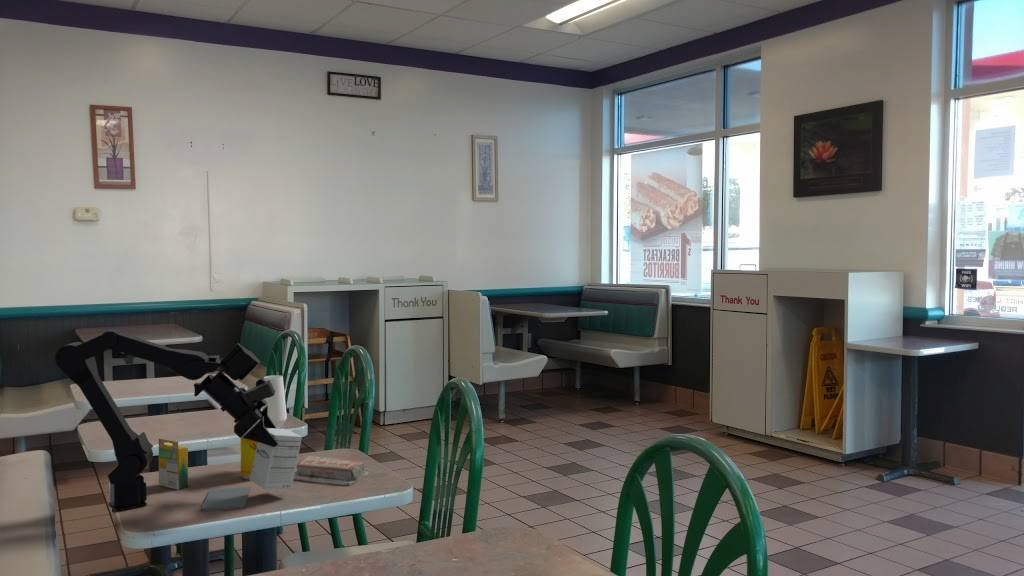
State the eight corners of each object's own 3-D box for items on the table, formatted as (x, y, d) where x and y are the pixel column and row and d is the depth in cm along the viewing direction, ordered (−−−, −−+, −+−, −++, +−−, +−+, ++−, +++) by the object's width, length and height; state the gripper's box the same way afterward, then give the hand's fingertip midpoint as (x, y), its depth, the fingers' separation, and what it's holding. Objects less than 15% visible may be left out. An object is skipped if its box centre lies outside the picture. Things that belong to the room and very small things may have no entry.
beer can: (261, 480, 198) (261, 420, 197) (237, 479, 198) (236, 420, 197) (269, 473, 204) (268, 415, 203) (245, 473, 204) (245, 415, 203)
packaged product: (369, 458, 203) (350, 468, 193) (369, 477, 203) (350, 488, 193) (308, 452, 208) (286, 461, 199) (308, 470, 208) (286, 480, 199)
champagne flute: (285, 462, 214) (284, 374, 213) (289, 468, 208) (288, 378, 207) (259, 464, 211) (258, 375, 210) (262, 471, 205) (261, 379, 204)
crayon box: (189, 487, 192) (188, 439, 191) (178, 490, 189) (177, 442, 188) (169, 482, 195) (168, 435, 195) (158, 485, 193) (157, 438, 192)
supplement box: (248, 481, 184) (259, 427, 185) (277, 480, 189) (287, 428, 190) (263, 489, 179) (274, 434, 179) (292, 489, 184) (303, 435, 185)
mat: (201, 510, 174) (201, 508, 174) (210, 491, 188) (210, 489, 188) (244, 508, 176) (243, 505, 176) (250, 489, 190) (250, 487, 190)
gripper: (249, 376, 173) (301, 424, 176) (257, 363, 191) (304, 407, 194) (211, 412, 172) (264, 460, 175) (222, 397, 190) (270, 440, 193)
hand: (277, 440), depth 184 cm, fingers closed on supplement box, 9 cm apart
